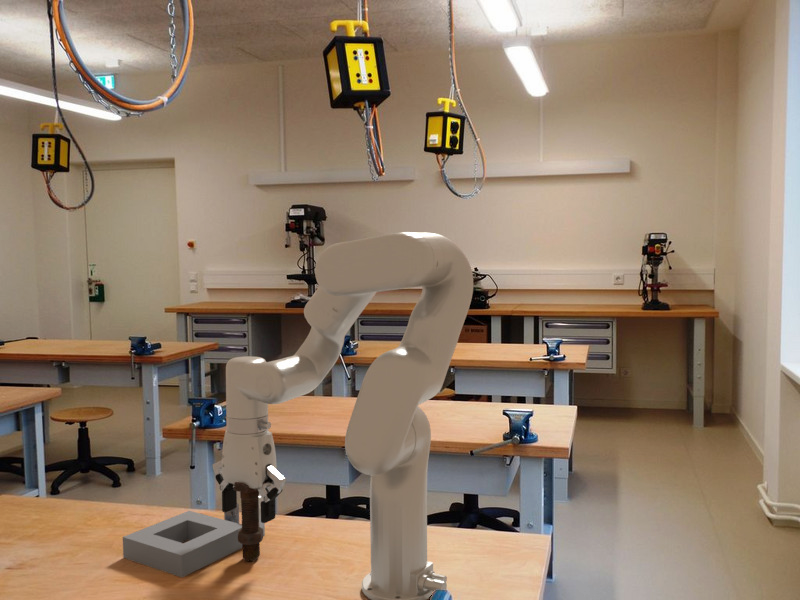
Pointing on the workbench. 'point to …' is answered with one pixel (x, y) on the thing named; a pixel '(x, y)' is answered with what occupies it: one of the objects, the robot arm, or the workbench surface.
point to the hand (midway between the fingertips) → (248, 515)
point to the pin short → (232, 515)
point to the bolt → (249, 522)
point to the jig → (171, 555)
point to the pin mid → (260, 515)
